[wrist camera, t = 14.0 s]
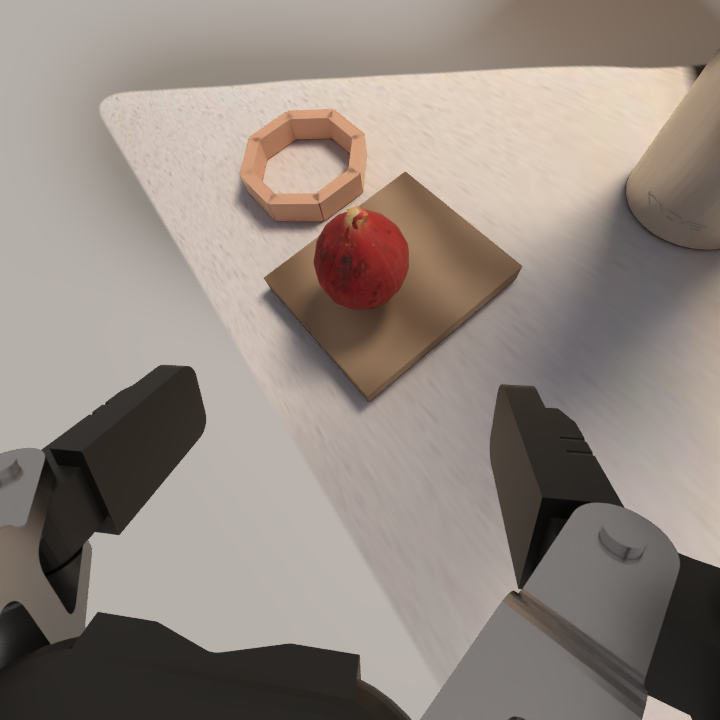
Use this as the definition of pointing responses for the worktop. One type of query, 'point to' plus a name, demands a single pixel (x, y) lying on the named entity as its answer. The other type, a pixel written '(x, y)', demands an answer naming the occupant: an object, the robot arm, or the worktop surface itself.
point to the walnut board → (415, 298)
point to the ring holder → (286, 132)
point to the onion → (361, 259)
